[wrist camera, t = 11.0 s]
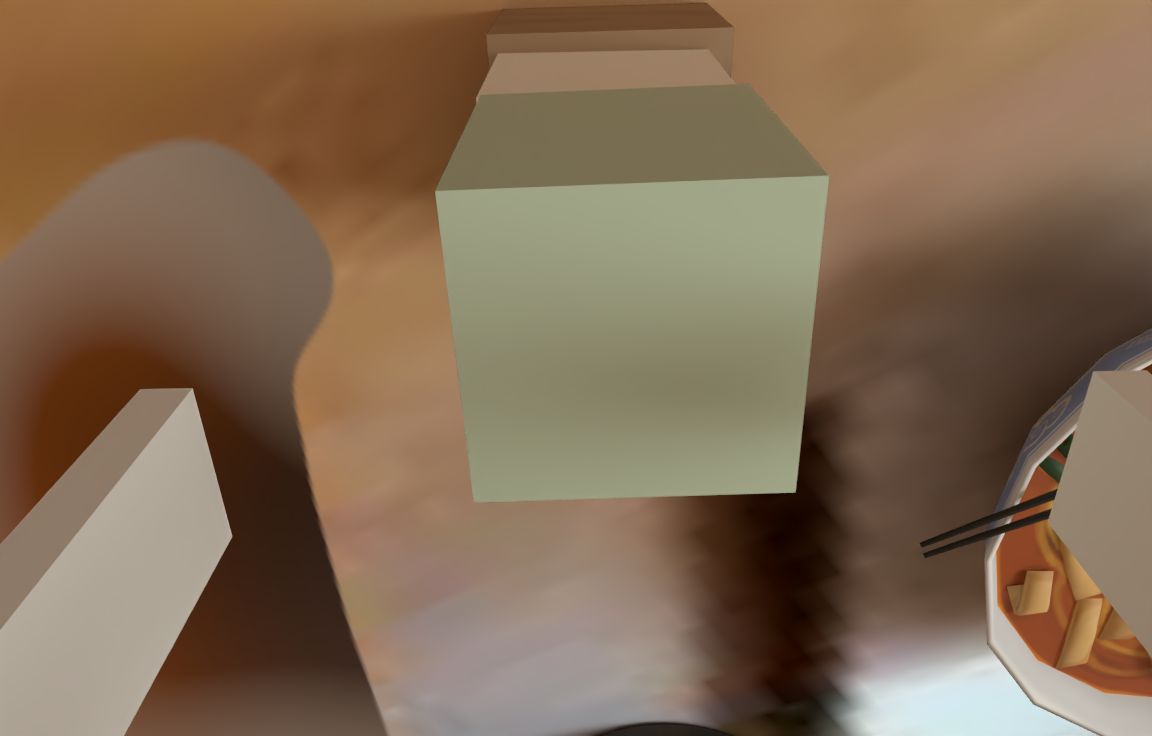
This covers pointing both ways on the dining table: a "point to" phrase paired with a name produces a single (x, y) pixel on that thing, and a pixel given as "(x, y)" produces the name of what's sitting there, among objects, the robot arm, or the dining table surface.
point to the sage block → (631, 292)
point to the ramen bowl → (1059, 585)
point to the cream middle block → (602, 71)
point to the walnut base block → (612, 30)
